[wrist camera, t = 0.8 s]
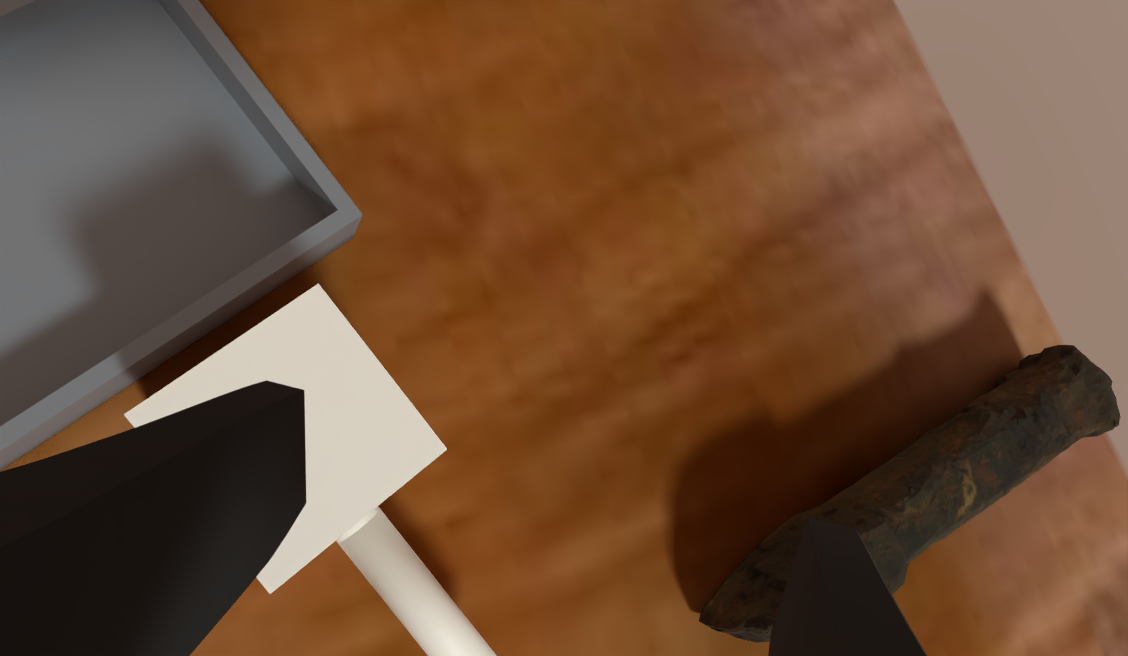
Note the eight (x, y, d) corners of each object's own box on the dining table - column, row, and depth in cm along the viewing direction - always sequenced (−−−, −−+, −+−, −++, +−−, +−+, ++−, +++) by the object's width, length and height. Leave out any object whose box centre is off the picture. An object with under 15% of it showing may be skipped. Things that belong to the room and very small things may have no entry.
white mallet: (159, 428, 24) (123, 414, 18) (304, 328, 26) (318, 283, 20) (426, 758, 25) (480, 852, 19) (547, 638, 27) (633, 688, 21)
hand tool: (1013, 350, 36) (1115, 332, 32) (1050, 434, 36) (1157, 429, 32) (660, 545, 29) (729, 557, 25) (705, 651, 29) (783, 682, 24)
